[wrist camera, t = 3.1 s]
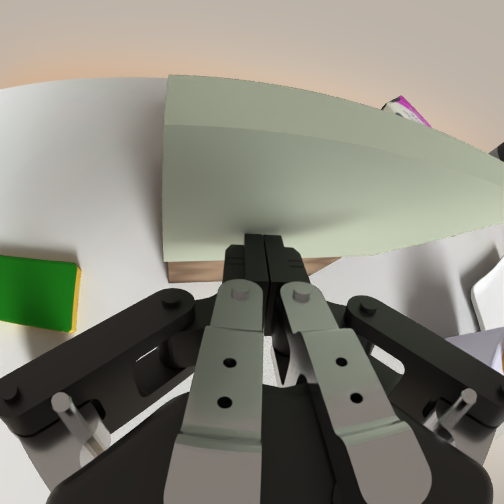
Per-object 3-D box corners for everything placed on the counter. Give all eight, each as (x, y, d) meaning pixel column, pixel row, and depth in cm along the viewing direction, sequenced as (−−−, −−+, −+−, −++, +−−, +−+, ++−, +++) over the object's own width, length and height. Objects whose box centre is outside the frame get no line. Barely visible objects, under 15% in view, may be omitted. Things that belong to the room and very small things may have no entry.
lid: (547, 189, 9) (552, 208, 9) (370, 244, 25) (371, 255, 24) (168, 74, 4) (163, 124, 4) (163, 247, 20) (163, 261, 20)
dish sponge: (-11, 258, 25) (-20, 252, 23) (82, 268, 29) (76, 262, 27) (-19, 316, 23) (-29, 313, 21) (76, 333, 27) (70, 332, 25)
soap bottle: (422, 411, 34) (540, 414, 15) (409, 365, 36) (536, 351, 17) (466, 366, 39) (565, 351, 20) (455, 325, 40) (557, 297, 22)
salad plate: (484, 389, 39) (498, 388, 36) (459, 291, 43) (473, 286, 40) (518, 337, 46) (529, 334, 43) (496, 256, 51) (507, 251, 48)
